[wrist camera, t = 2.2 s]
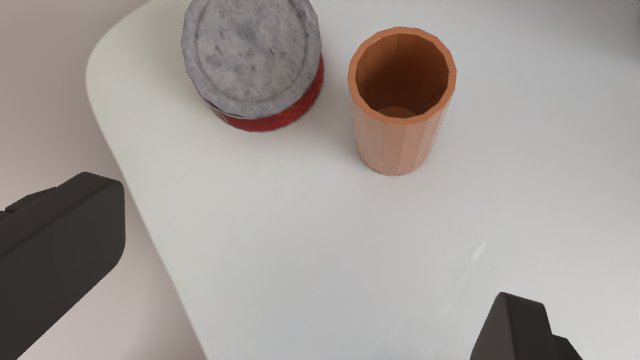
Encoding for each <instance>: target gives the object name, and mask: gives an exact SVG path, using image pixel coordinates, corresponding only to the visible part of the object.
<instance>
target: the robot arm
mask: <svg viewBox="0 0 640 360" xmlns="http://www.w3.org/2000/svg"><path fill="white" fill-rule="evenodd" d="M125 239H126V238H125V201H124V188H123V185H122V184H121V182H119V181H117V180H114V179H110V178H106V177H103V176H100V175H96V174H92V173H89V172H82V173H80V174H78V175H76V176H74V177H73V178H71V179H69V180H68V181H66V182H64V183H63V184H61V185H59V186H58V187H53V188H50V189H47V190H43V191H40V192H37V193H33V194H30V195H27V196H25V197H24V198H22V199H20V200H18V201H17V202H15V203H13V204H12V205H10V206H8V207H6V208H5V211H0V360H17V358H18V357H20V356H21V355H22V354H23V353H24V352H25V351H26V350H27V349H28V348H29V347H30V346H31V345H32V344H34V343H35V341H37V340H38V339H39V338H40V337H41V336H42V335H43V334H44V333H45V332H46V331H47V330H48V329H49V328H50V327H52V326H53V325H54V324H55V323H56V322H57V321H58V320H59V319H60V318H61V317H62V316H63V315H64V314H65V313H66V312H67V311H68V310H70V309H71V308H72V307H73V306H74V305H75V304H76V303H77V302H78V301H79V300H80V299H81V298H82V297H83V296H84V295H85V294H86V293H88V292H89V291H90V290H91V289H92V288H93V287H94V286H95V285H96V284H97V283H98V282H99V281H100V280H101V279H102V278H103V277H105V276H106V275H107V274H108V273H109V272H110V271H111V270H112V269H113V268H114V267H115V266H116V265H117V263H118V262H119V260H120V258H121V256H122V254H123V251H124V247H125ZM470 360H583V359H582V358H581V357H580V355H579V354H578V353H577V351H576V350H575V349H574V347H573V346H572V345H571V344H570V342H569V341H568V340H567V339H566V338H563V337H560V336H556V335H553V334H552V332H551V328H550V325H549V321H548V317H547V313H546V310H545V307H544V305H543V304H542V303H539V302H536V301H532V300H529V299H525V298H522V297H519V296H515V295H512V294H508V293H505V292H500V293H499V294H498V295H497V297H496V299H495V301H494V303H493V305H492V307H491V310H490V312H489V314H488V316H487V319H486V321H485V323H484V325H483V328H482V330H481V332H480V334H479V337H478V339H477V341H476V343H475V346H474V348H473V351H472V354H471V357H470Z"/></svg>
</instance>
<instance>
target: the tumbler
mask: <svg viewBox="0 0 640 360" xmlns="http://www.w3.org/2000/svg"><path fill="white" fill-rule="evenodd" d="M456 73H457V71H456V67H455V64H454V61H453V58H452V55H451V53H450V51H449V50H448V49H447V48H446V47H445V46H444V44H443V43H442V42H441V41H440V40H439V39H438V38H437V37H435V36H433V35H431V34H429V33H427V32H425V31H423V30H421V29H418V28H408V27H394V28H391V29H387V30H383V31H380V32H377V33H376V34H374V35H373V36H371V37H370V38H369V39H367V40H366V41H364V42H363V43H362V44H361V45H360V47H359V48H358V50H357V51H356V53H355V54H354V56H353V57H352V59H351V61H350V67H349V73H348V86H349V94H350V102H351V110H352V118H353V126H354V134H355V141H356V145H357V150H358V152H359V155H360V157H361V158H362V160H363V161H364V163H365V164H366V165H367V166H368V167H370V168H371V169H372V170H374V171H376V172H378V173H380V174H383V175H388V176H400V175H405V174H408V173H410V172H412V171H414V170H416V169H417V168H418V167H420V166H421V165H422V164H423V163H424V161H425V160H426V158H427V157H428V155H429V153H430V151H431V149H432V147H433V144H434V141H435V139H436V136H437V134H438V131H439V129H440V126H441V124H442V121H443V118H444V116H445V113H446V111H447V108H448V106H449V103H450V101H451V98H452V95H453V93H454V90H455V82H456Z"/></svg>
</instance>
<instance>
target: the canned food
mask: <svg viewBox="0 0 640 360" xmlns="http://www.w3.org/2000/svg"><path fill="white" fill-rule="evenodd" d="M181 47H182V51H183V55H184V60H185V66H186V71H187V73H188V75H189V76H190V78H191V79H192V81H193V83H194V85H195V87H196V89H197V91H198V93H199V94H200V96H201V97H202V98H203V99H204V101H205V102H206V103H207V104H208V105H209V106H210V107H211V108H212V109H213V111H214V112H215V113H216V114H217V116H218V117H220V118H221V119H222V120H223V121H225V122H226V123H227V124H229V125H231V126H233V127H235V128H237V129H241V130H245V131H249V132H267V131H274V130H277V129H280V128H283V127H286V126H288V125H289V124H291V123H293V122H295V121H297V120H298V119H299V118H300V117H302V116H303V115H304V114H305V113H306V112H307V111H308V110H309V109H310V107H311V106H312V105H313V104H314V102H315V100H316V99H317V97H318V95H319V93H320V90H321V87H322V84H323V78H324V64H323V58H322V55H321V47H322V44H321V38H320V32H319V25H318V18H317V15H316V13H315V11H314V9H313V7H312V5H311V4H310V2H309V0H192V2H191V4H190V5H189V7H188V9H187V11H186V12H185V19H184V27H183V33H182V39H181Z"/></svg>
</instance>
